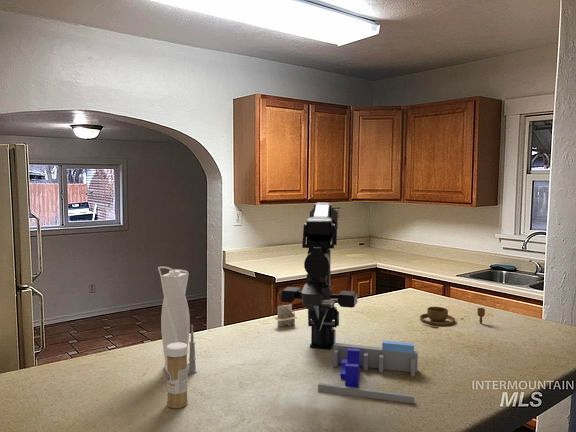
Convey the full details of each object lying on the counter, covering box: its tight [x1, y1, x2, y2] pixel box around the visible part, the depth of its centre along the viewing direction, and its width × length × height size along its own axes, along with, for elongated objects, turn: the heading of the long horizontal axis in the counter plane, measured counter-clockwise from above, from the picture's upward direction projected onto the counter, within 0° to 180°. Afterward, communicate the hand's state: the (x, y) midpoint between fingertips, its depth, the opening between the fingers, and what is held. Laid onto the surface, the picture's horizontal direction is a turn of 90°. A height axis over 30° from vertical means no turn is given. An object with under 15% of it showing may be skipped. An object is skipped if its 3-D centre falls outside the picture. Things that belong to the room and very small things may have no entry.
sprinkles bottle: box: [166, 342, 189, 409], centre depth 106 cm, size 5×5×13 cm
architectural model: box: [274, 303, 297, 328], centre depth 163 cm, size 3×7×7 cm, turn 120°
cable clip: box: [340, 348, 360, 388], centre depth 120 cm, size 12×4×6 cm, turn 170°
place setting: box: [419, 306, 486, 329], centre depth 168 cm, size 18×20×6 cm
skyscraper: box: [157, 265, 198, 376], centre depth 125 cm, size 8×8×28 cm
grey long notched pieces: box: [317, 340, 419, 404], centre depth 120 cm, size 22×20×7 cm
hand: (318, 330), depth 122 cm, fingers closed
